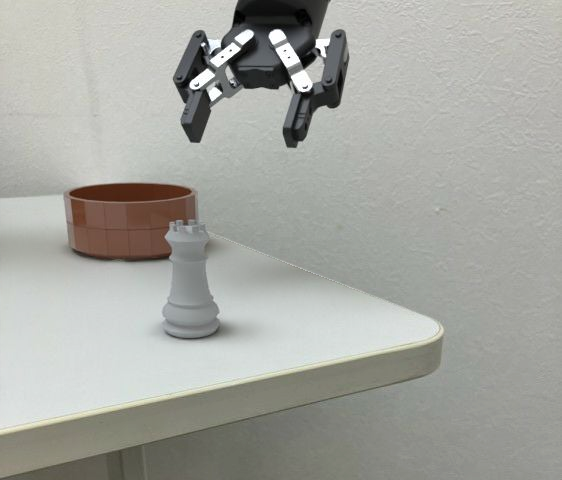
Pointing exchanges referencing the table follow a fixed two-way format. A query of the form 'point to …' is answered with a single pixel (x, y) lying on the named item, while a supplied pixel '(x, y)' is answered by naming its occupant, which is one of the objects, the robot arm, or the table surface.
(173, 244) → the rook chess piece
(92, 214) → the bowl
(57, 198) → the table surface
